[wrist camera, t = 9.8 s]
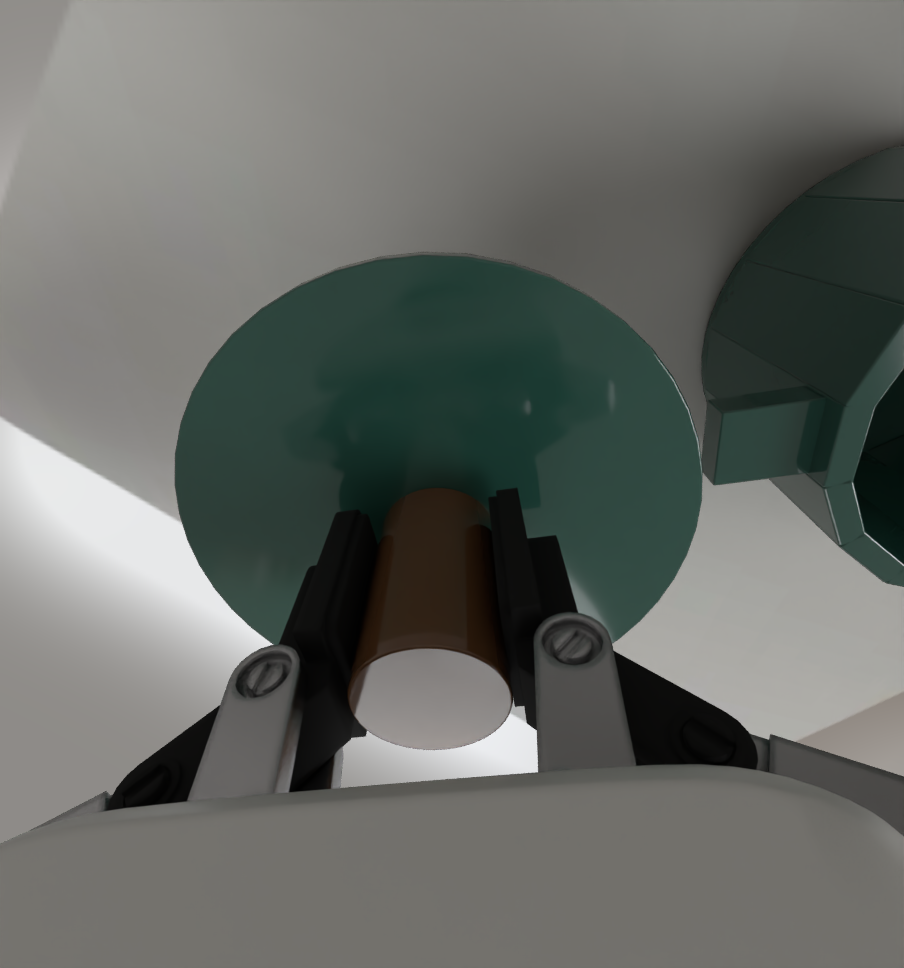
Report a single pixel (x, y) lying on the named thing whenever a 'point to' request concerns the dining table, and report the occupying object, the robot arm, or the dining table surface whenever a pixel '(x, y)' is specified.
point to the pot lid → (436, 468)
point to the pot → (819, 362)
